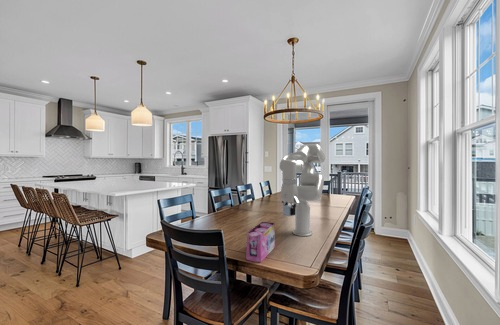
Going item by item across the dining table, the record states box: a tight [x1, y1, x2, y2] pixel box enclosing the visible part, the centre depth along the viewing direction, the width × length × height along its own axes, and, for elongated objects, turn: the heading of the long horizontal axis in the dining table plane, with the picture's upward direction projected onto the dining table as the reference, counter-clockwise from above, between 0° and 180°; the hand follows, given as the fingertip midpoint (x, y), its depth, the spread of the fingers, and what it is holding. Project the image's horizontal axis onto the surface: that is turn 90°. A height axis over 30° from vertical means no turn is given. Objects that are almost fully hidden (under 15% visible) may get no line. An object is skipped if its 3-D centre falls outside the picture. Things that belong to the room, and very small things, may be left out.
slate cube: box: [282, 204, 296, 217], centre depth 136 cm, size 5×5×5 cm
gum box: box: [245, 221, 276, 263], centre depth 125 cm, size 24×8×14 cm, turn 157°
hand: (289, 213), depth 136 cm, fingers closed on slate cube, 4 cm apart
